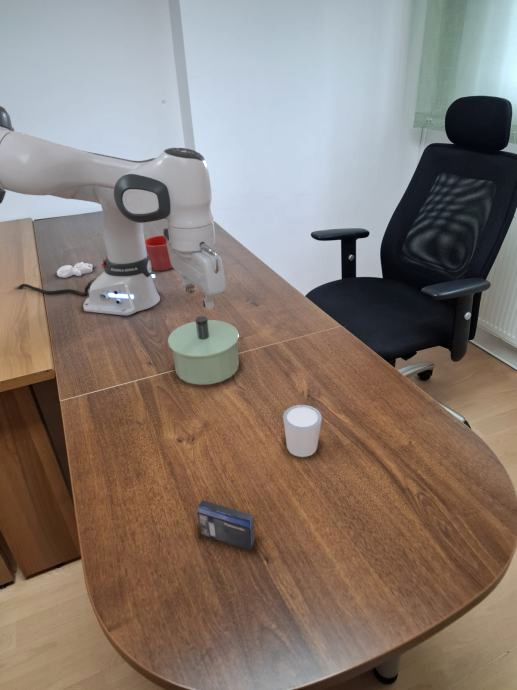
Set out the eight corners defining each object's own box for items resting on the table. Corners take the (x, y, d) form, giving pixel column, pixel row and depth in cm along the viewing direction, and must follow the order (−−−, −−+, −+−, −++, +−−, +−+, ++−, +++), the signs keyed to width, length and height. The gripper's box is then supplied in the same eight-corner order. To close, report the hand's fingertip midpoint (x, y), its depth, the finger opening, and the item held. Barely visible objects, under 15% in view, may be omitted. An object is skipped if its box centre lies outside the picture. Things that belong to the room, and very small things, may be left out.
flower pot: (141, 270, 162) (136, 243, 157) (158, 259, 170) (154, 234, 165) (167, 274, 158) (163, 246, 153) (184, 262, 167) (180, 236, 162)
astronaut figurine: (91, 275, 160) (89, 266, 159) (55, 279, 158) (53, 270, 157) (94, 266, 167) (92, 258, 166) (59, 269, 166) (57, 261, 164)
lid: (186, 368, 95) (182, 344, 92) (158, 336, 107) (154, 314, 104) (251, 345, 102) (250, 322, 99) (218, 317, 114) (217, 297, 111)
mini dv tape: (200, 534, 70) (196, 507, 67) (205, 526, 71) (201, 499, 68) (251, 550, 67) (249, 523, 64) (255, 542, 68) (253, 515, 65)
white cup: (310, 464, 81) (311, 434, 78) (276, 450, 84) (275, 421, 81) (326, 441, 86) (328, 411, 82) (294, 428, 89) (294, 399, 86)
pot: (177, 390, 101) (172, 360, 97) (175, 355, 114) (170, 326, 110) (243, 381, 103) (241, 351, 99) (234, 347, 116) (231, 319, 112)
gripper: (231, 247, 86) (235, 314, 93) (186, 222, 101) (193, 280, 108) (200, 254, 83) (207, 322, 90) (159, 227, 98) (167, 287, 105)
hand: (199, 299), depth 99 cm, fingers open, 8 cm apart
